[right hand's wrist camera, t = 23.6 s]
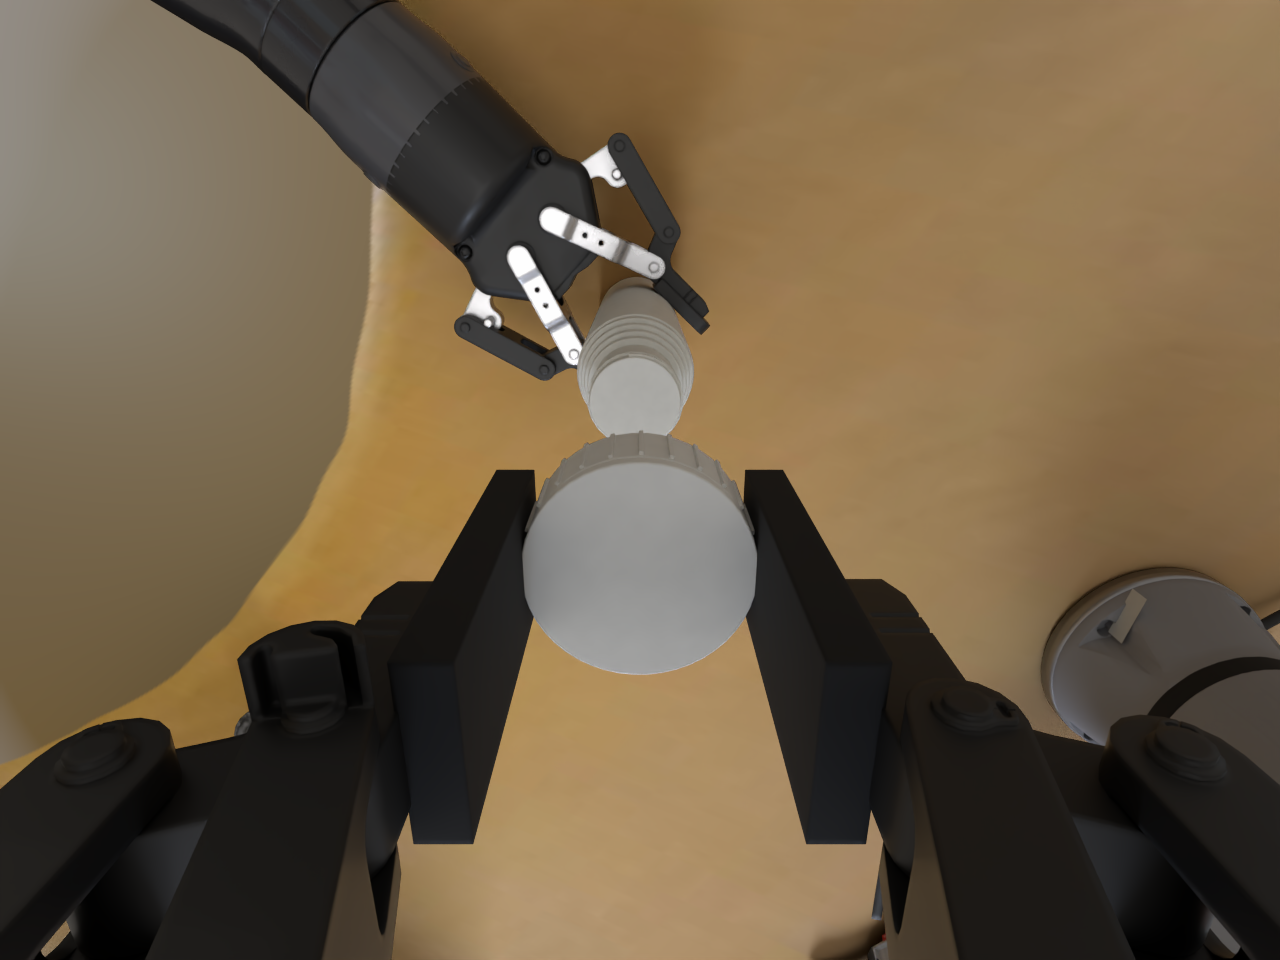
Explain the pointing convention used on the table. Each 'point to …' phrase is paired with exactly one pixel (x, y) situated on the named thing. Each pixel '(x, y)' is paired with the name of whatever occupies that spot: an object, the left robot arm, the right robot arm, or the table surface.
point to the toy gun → (879, 950)
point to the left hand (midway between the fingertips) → (669, 362)
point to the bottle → (635, 362)
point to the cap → (639, 555)
